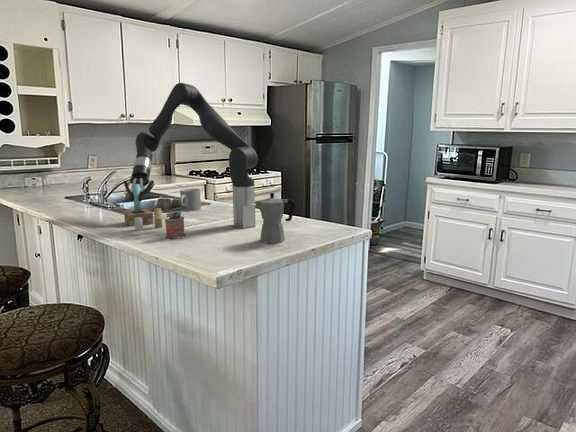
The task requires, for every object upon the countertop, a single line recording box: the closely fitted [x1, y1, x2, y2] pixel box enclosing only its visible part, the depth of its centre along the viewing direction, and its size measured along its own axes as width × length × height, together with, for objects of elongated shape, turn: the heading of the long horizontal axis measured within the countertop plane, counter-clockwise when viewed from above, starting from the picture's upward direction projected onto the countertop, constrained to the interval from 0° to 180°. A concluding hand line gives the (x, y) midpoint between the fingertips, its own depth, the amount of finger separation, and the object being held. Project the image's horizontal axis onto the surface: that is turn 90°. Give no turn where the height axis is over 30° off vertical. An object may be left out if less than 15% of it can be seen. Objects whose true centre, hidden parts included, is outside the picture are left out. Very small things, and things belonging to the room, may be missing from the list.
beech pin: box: [153, 207, 163, 229], centre depth 182 cm, size 3×3×8 cm
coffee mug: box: [178, 188, 202, 212], centre depth 220 cm, size 13×10×10 cm
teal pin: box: [131, 184, 142, 212], centre depth 188 cm, size 3×3×12 cm
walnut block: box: [123, 208, 155, 228], centre depth 190 cm, size 10×10×5 cm
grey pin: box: [134, 217, 144, 232], centre depth 178 cm, size 3×3×5 cm
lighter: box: [164, 211, 186, 240], centre depth 165 cm, size 8×3×10 cm, turn 141°
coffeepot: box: [254, 192, 297, 244], centre depth 159 cm, size 15×9×18 cm, turn 90°
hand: (135, 200), depth 187 cm, fingers closed on teal pin, 3 cm apart
